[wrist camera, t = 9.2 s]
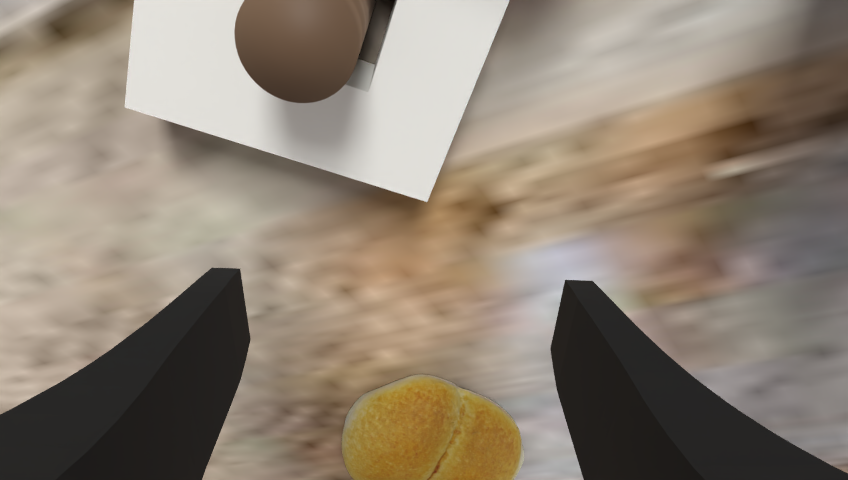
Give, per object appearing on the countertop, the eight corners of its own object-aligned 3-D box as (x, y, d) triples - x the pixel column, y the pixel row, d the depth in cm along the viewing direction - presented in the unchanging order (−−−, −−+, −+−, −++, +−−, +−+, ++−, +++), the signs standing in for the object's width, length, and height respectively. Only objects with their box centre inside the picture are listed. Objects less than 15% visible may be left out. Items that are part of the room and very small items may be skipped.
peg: (393, -23, 19) (381, 28, 13) (348, 50, 20) (319, 125, 15) (318, -78, 18) (269, -51, 12) (275, 0, 20) (213, 58, 14)
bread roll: (385, 346, 28) (380, 411, 25) (541, 407, 30) (556, 475, 27) (317, 447, 32) (304, 515, 29) (460, 495, 34) (464, 564, 31)
